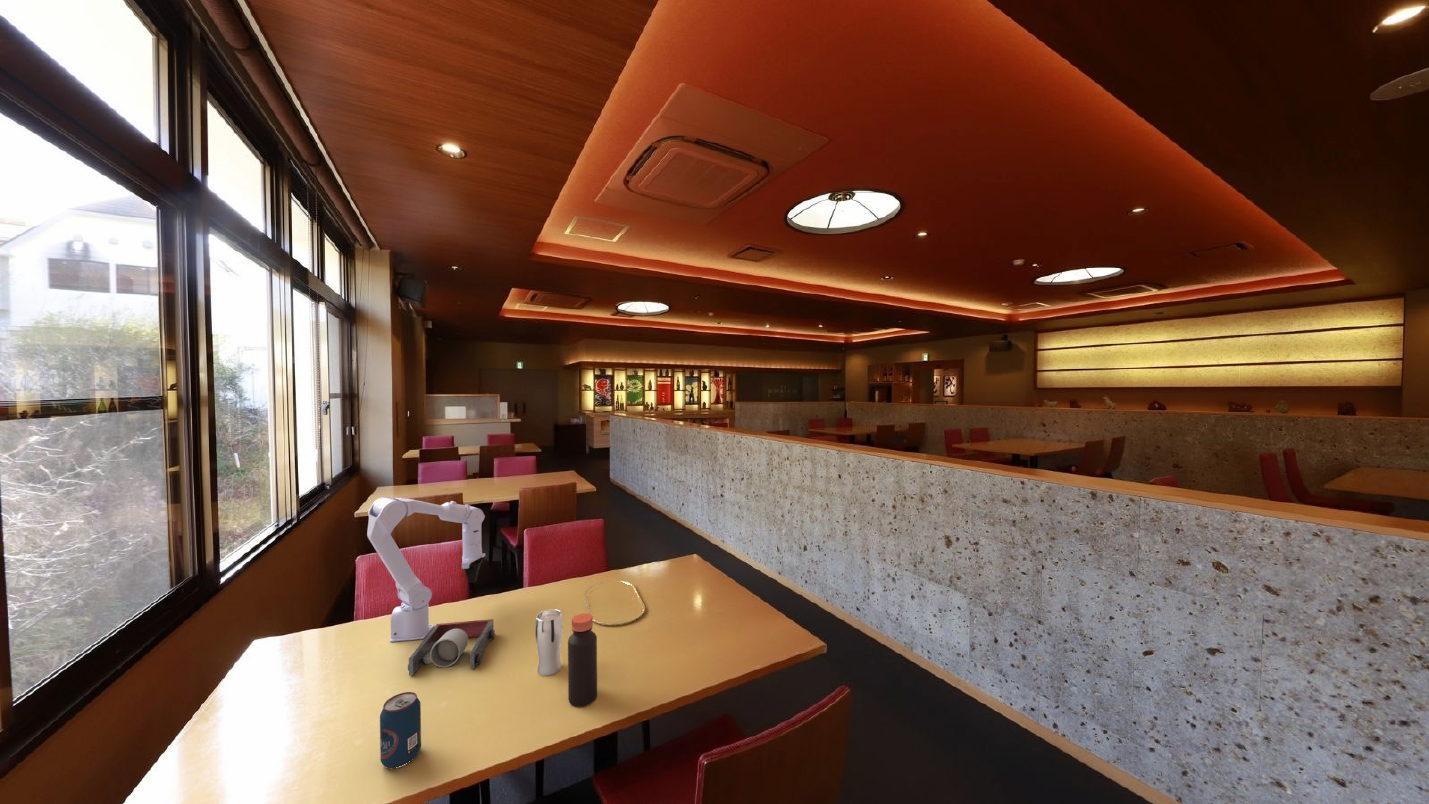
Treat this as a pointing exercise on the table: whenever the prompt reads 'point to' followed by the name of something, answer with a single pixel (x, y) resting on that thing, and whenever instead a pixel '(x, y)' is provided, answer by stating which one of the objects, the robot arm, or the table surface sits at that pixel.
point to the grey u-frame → (470, 627)
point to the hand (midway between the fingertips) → (472, 581)
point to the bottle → (582, 662)
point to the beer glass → (549, 641)
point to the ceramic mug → (447, 648)
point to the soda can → (400, 729)
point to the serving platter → (606, 582)
